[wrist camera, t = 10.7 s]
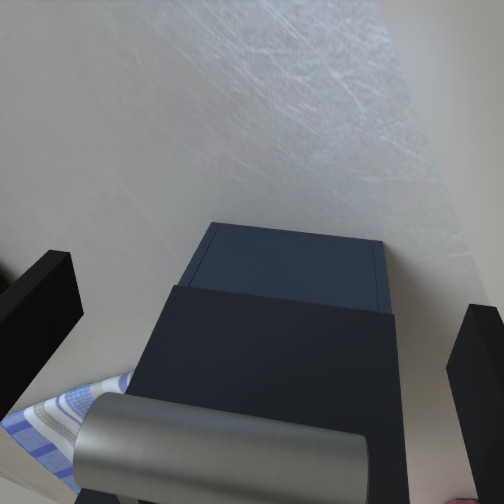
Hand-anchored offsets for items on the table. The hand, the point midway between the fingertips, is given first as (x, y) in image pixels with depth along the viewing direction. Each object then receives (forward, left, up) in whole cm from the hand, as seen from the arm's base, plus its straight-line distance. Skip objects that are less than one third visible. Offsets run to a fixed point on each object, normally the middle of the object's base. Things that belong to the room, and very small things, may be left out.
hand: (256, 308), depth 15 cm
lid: (+2, +9, -2) cm, 10 cm away
